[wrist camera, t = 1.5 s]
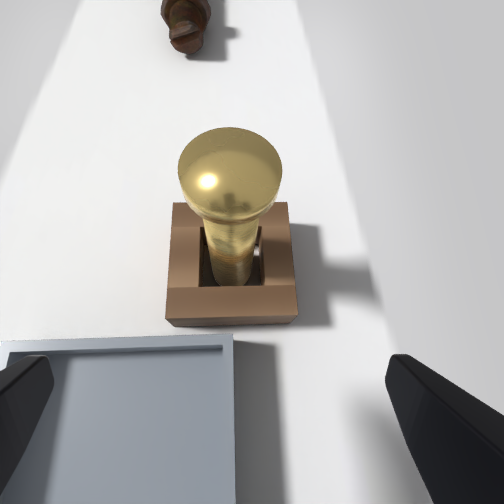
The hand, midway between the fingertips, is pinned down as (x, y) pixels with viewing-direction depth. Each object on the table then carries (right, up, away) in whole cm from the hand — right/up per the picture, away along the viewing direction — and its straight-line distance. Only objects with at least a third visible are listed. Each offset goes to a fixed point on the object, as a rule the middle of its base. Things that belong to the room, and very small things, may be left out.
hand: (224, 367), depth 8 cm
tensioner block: (-1, +2, +15) cm, 15 cm away
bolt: (-7, +29, +27) cm, 40 cm away
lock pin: (-1, +2, +15) cm, 15 cm away
